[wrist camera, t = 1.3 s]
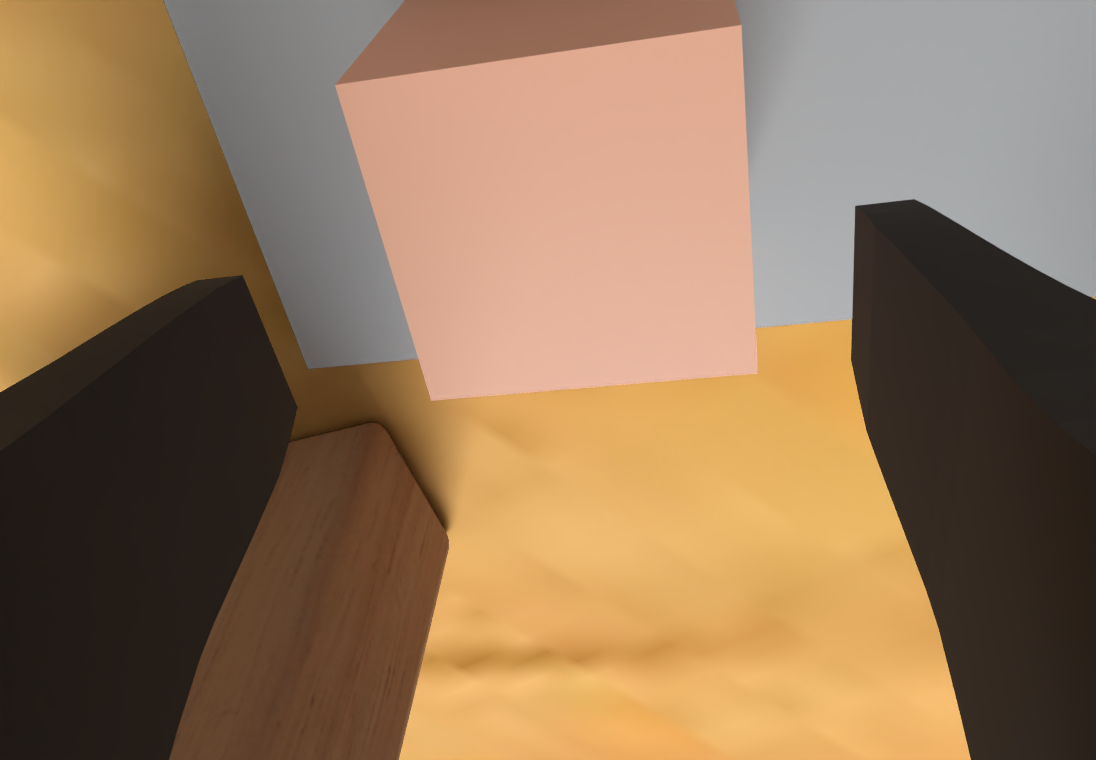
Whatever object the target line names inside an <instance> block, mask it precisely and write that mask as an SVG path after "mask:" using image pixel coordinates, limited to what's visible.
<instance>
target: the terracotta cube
mask: <svg viewBox="0 0 1096 760" xmlns="http://www.w3.org/2000/svg"><path fill="white" fill-rule="evenodd" d="M335 87H336V90H337V93H338V97H339V100H340V103H341V107H342V110H343V113H344V116H345V120H346V123H347V126H348V130H349V133H350V136H351V139H352V143H353V146H354V149H355V152H356V156H357V159H358V162H359V166H360V169H361V172H362V175H363V179H364V182H365V185H366V189H367V192H368V195H369V198H370V202H371V205H372V208H373V211H374V215H375V218H376V221H377V225H378V228H379V231H380V234H381V238H382V241H383V244H384V248H385V251H386V254H387V257H388V261H389V264H390V267H391V270H392V274H393V277H394V280H395V284H396V287H397V290H398V293H399V297H400V300H401V303H402V307H403V310H404V313H405V316H406V320H407V323H408V326H409V329H410V333H411V336H412V339H413V343H414V346H415V349H416V352H417V356H418V359H419V362H420V366H421V369H422V372H423V375H424V379H425V382H426V385H427V388H428V392H429V395H430V398H431V401H432V400H444V399H456V398H468V397H480V396H492V395H504V394H516V393H528V392H540V391H552V390H564V389H576V388H588V387H600V386H612V385H624V384H636V383H648V382H660V381H672V380H684V379H696V378H708V377H719V376H731V375H743V374H755V373H758V368H757V346H756V325H755V304H754V282H753V261H752V240H751V218H750V197H749V176H748V154H747V133H746V112H745V90H744V69H743V48H742V26H741V22H740V18H739V15H738V11H737V8H736V4H735V1H734V0H405V1H404V2H403V3H402V5H401V6H400V7H399V8H398V9H397V11H396V12H395V13H394V14H393V15H392V17H391V18H390V19H389V20H388V21H387V23H386V24H385V25H384V26H383V27H382V29H381V30H380V31H379V32H378V34H377V35H376V36H375V37H374V38H373V40H372V41H371V42H370V43H369V44H368V46H367V47H366V48H365V49H364V50H363V52H362V53H361V54H360V55H359V56H358V58H357V59H356V60H355V61H354V63H353V64H352V65H351V66H350V67H349V69H348V70H347V71H346V72H345V73H344V75H343V76H342V77H341V78H340V79H339V81H338V82H337V83H336V84H335Z"/></svg>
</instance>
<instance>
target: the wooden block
mask: <svg viewBox="0 0 1096 760" xmlns="http://www.w3.org/2000/svg"><path fill="white" fill-rule="evenodd" d="M448 550H449V540H448V536H447V533H446V531H445V530H444V528H443V526H442V525H441V523H440V521H439V519H438V518H437V516H436V514H435V513H434V511H433V509H432V507H431V506H430V504H429V502H428V501H427V499H426V497H425V495H424V494H423V492H422V490H421V489H420V487H419V485H418V484H417V482H416V480H415V478H414V477H413V475H412V473H411V472H410V470H409V468H408V466H407V465H406V463H405V461H404V460H403V458H402V456H401V454H400V453H399V451H398V449H397V448H396V446H395V444H394V443H393V441H392V439H391V437H390V436H389V434H388V432H387V431H386V429H385V428H384V427H383V426H381V425H380V424H379V423H366V424H362V425H357V426H353V427H349V428H345V429H341V430H337V431H333V432H329V433H325V434H321V435H316V436H312V437H308V438H304V439H300V440H296V441H292V442H289V444H288V448H287V451H286V455H285V458H284V462H283V465H282V469H281V472H280V475H279V478H278V480H277V483H276V485H275V487H274V490H273V492H272V495H271V497H270V499H269V501H268V504H267V506H266V508H265V511H264V513H263V515H262V518H261V520H260V522H259V524H258V527H257V529H256V531H255V533H254V536H253V538H252V540H251V542H250V544H249V547H248V549H247V551H246V553H245V556H244V558H243V560H242V562H241V564H240V567H239V569H238V571H237V573H236V576H235V578H234V580H233V582H232V584H231V587H230V589H229V591H228V593H227V596H226V598H225V600H224V602H223V604H222V607H221V609H220V611H219V613H218V616H217V618H216V620H215V622H214V625H213V627H212V630H211V632H210V635H209V637H208V640H207V642H206V645H205V647H204V650H203V653H202V655H201V658H200V661H199V664H198V667H197V670H196V673H195V676H194V680H193V683H192V686H191V689H190V692H189V695H188V698H187V702H186V705H185V708H184V711H183V714H182V717H181V721H180V724H179V727H178V730H177V733H176V737H175V741H174V744H173V748H172V751H171V755H170V758H169V760H399V756H400V752H401V748H402V744H403V739H404V735H405V731H406V727H407V723H408V719H409V714H410V710H411V706H412V702H413V698H414V693H415V689H416V685H417V681H418V677H419V672H420V668H421V664H422V660H423V656H424V651H425V647H426V643H427V639H428V634H429V630H430V626H431V622H432V617H433V613H434V609H435V605H436V600H437V596H438V592H439V588H440V584H441V579H442V575H443V571H444V567H445V562H446V558H447V554H448Z"/></svg>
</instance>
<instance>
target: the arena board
mask: <svg viewBox="0 0 1096 760" xmlns="http://www.w3.org/2000/svg"><path fill="white" fill-rule="evenodd" d="M163 1H164V4H165V7H166V9H167V12H168V14H169V17H170V19H171V22H172V24H173V27H174V29H175V32H176V35H177V37H178V40H179V42H180V45H181V47H182V50H183V52H184V55H185V57H186V60H187V63H188V65H189V68H190V70H191V73H192V75H193V78H194V80H195V83H196V85H197V88H198V91H199V93H200V96H201V98H202V101H203V103H204V106H205V108H206V111H207V114H208V116H209V119H210V121H211V124H212V126H213V129H214V131H215V134H216V136H217V139H218V142H219V144H220V147H221V149H222V152H223V154H224V157H225V159H226V162H227V164H228V167H229V170H230V172H231V175H232V177H233V180H234V182H235V185H236V187H237V190H238V192H239V195H240V198H241V200H242V203H243V205H244V208H245V210H246V213H247V215H248V218H249V220H250V223H251V226H252V228H253V231H254V233H255V236H256V238H257V241H258V243H259V246H260V249H261V251H262V254H263V256H264V259H265V261H266V264H267V266H268V269H269V271H270V274H271V277H272V279H273V282H274V284H275V287H276V289H277V292H278V294H279V297H280V299H281V302H282V305H283V307H284V310H285V312H286V315H287V317H288V320H289V322H290V325H291V327H292V330H293V333H294V335H295V338H296V340H297V343H298V345H299V348H300V350H301V353H302V356H303V358H304V361H305V363H306V366H307V368H308V369H315V368H326V367H337V366H347V365H358V364H369V363H380V362H391V361H402V360H413V359H418V356H417V352H416V349H415V346H414V343H413V339H412V336H411V333H410V329H409V326H408V323H407V320H406V316H405V313H404V310H403V307H402V303H401V300H400V297H399V293H398V290H397V287H396V284H395V280H394V277H393V274H392V270H391V267H390V264H389V261H388V257H387V254H386V251H385V248H384V244H383V241H382V238H381V234H380V231H379V228H378V225H377V221H376V218H375V215H374V211H373V208H372V205H371V202H370V198H369V195H368V192H367V189H366V185H365V182H364V179H363V175H362V172H361V169H360V166H359V162H358V159H357V156H356V152H355V149H354V146H353V143H352V139H351V136H350V133H349V130H348V126H347V123H346V120H345V116H344V113H343V110H342V107H341V103H340V100H339V97H338V93H337V90H336V87H335V84H336V83H337V82H338V81H339V79H340V78H341V77H342V76H343V75H344V73H345V72H346V71H347V70H348V69H349V67H350V66H351V65H352V64H353V63H354V61H355V60H356V59H357V58H358V56H359V55H360V54H361V53H362V52H363V50H364V49H365V48H366V47H367V46H368V44H369V43H370V42H371V41H372V40H373V38H374V37H375V36H376V35H377V34H378V32H379V31H380V30H381V29H382V27H383V26H384V25H385V24H386V23H387V21H388V20H389V19H390V18H391V17H392V15H393V14H394V13H395V12H396V11H397V9H398V8H399V7H400V6H401V5H402V3H403V2H404V1H405V0H163ZM734 1H735V4H736V8H737V11H738V15H739V18H740V22H741V26H742V48H743V69H744V90H745V112H746V133H747V154H748V176H749V197H750V218H751V240H752V261H753V282H754V304H755V325H756V328H761V327H772V326H783V325H794V324H804V323H815V322H826V321H837V320H848V319H852V311H853V271H854V232H855V206H858V205H867V204H876V203H885V202H893V201H902V200H911V199H915V200H917V201H919V202H921V203H924V204H925V205H927V206H929V207H931V208H933V209H935V210H936V211H938V212H940V213H941V214H943V215H945V216H946V217H948V218H950V219H952V220H953V221H955V222H956V223H958V224H960V225H961V226H963V227H965V228H966V229H968V230H970V231H971V232H973V233H975V234H976V235H978V236H980V237H981V238H983V239H985V240H986V241H988V242H990V243H991V244H993V245H995V246H997V247H998V248H1000V249H1002V250H1003V251H1005V252H1007V253H1008V254H1010V255H1012V256H1014V257H1015V258H1017V259H1019V260H1021V261H1022V262H1024V263H1026V264H1028V265H1030V266H1031V267H1033V268H1035V269H1037V270H1039V271H1040V272H1042V273H1044V274H1046V275H1048V276H1050V277H1052V278H1054V279H1055V280H1057V281H1059V282H1061V283H1063V284H1065V285H1067V286H1069V287H1071V288H1073V289H1075V290H1077V291H1079V292H1081V293H1083V294H1085V295H1087V296H1089V297H1096V0H734Z"/></svg>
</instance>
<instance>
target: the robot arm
mask: <svg viewBox="0 0 1096 760" xmlns="http://www.w3.org/2000/svg"><path fill="white" fill-rule="evenodd" d="M851 361H852V366H853V371H854V375H855V380H856V385H857V390H858V394H859V399H860V404H861V408H862V412H863V417H864V421H865V426H866V430H867V433H868V436H869V439H870V442H871V444H872V447H873V450H874V453H875V455H876V458H877V461H878V463H879V466H880V469H881V471H882V474H883V477H884V480H885V482H886V485H887V488H888V490H889V493H890V496H891V498H892V501H893V504H894V506H895V509H896V511H897V514H898V517H899V519H900V522H901V525H902V527H903V530H904V533H905V535H906V538H907V540H908V543H909V546H910V548H911V551H912V554H913V556H914V559H915V562H916V564H917V567H918V570H919V572H920V575H921V578H922V580H923V583H924V585H925V588H926V591H927V594H928V597H929V600H930V603H931V606H932V609H933V612H934V615H935V619H936V622H937V625H938V628H939V632H940V635H941V639H942V643H943V647H944V651H945V655H946V659H947V663H948V667H949V671H950V675H951V679H952V683H953V687H954V691H955V695H956V699H957V703H958V707H959V711H960V715H961V719H962V723H963V727H964V732H965V736H966V740H967V744H968V748H969V753H970V757H971V760H1096V300H1095V299H1093V298H1091V297H1089V296H1087V295H1085V294H1083V293H1081V292H1079V291H1077V290H1075V289H1073V288H1071V287H1069V286H1067V285H1065V284H1063V283H1061V282H1059V281H1057V280H1055V279H1054V278H1052V277H1050V276H1048V275H1046V274H1044V273H1042V272H1040V271H1039V270H1037V269H1035V268H1033V267H1031V266H1030V265H1028V264H1026V263H1024V262H1022V261H1021V260H1019V259H1017V258H1015V257H1014V256H1012V255H1010V254H1008V253H1007V252H1005V251H1003V250H1002V249H1000V248H998V247H997V246H995V245H993V244H991V243H990V242H988V241H986V240H985V239H983V238H981V237H980V236H978V235H976V234H975V233H973V232H971V231H970V230H968V229H966V228H965V227H963V226H961V225H960V224H958V223H956V222H955V221H953V220H952V219H950V218H948V217H946V216H945V215H943V214H941V213H940V212H938V211H936V210H935V209H933V208H931V207H929V206H927V205H925V204H924V203H921V202H919V201H917V200H915V199H911V200H902V201H893V202H885V203H876V204H867V205H858V206H855V232H854V271H853V311H852V350H851ZM296 411H297V406H296V403H295V401H294V398H293V396H292V394H291V391H290V389H289V386H288V384H287V381H286V379H285V377H284V374H283V372H282V369H281V367H280V365H279V362H278V360H277V357H276V355H275V353H274V350H273V348H272V345H271V343H270V340H269V338H268V336H267V333H266V331H265V328H264V326H263V324H262V321H261V319H260V316H259V314H258V312H257V309H256V307H255V304H254V302H253V299H252V297H251V295H250V292H249V290H248V287H247V285H246V283H245V280H244V278H243V275H241V276H232V277H224V278H215V279H206V280H197V281H195V282H192V283H190V284H187V285H185V286H182V287H180V288H178V289H176V290H174V291H172V292H170V293H168V294H166V295H164V296H162V297H161V298H159V299H157V300H155V301H153V302H151V303H150V304H148V305H146V306H144V307H143V308H141V309H139V310H138V311H136V312H134V313H132V314H131V315H129V316H127V317H126V318H124V319H122V320H121V321H119V322H117V323H116V324H114V325H113V326H111V327H109V328H108V329H106V330H104V331H103V332H101V333H99V334H98V335H96V336H95V337H93V338H91V339H90V340H88V341H86V342H85V343H83V344H81V345H80V346H78V347H77V348H75V349H73V350H72V351H70V352H68V353H67V354H65V355H63V356H62V357H60V358H59V359H57V360H55V361H54V362H52V363H50V364H49V365H47V366H45V367H44V368H42V369H40V370H38V371H37V372H35V373H33V374H31V375H30V376H28V377H26V378H24V379H23V380H21V381H19V382H18V383H16V384H14V385H12V386H11V387H9V388H7V389H5V390H4V391H2V392H0V760H169V758H170V755H171V751H172V748H173V744H174V741H175V737H176V733H177V730H178V727H179V724H180V721H181V717H182V714H183V711H184V708H185V705H186V702H187V698H188V695H189V692H190V689H191V686H192V683H193V680H194V676H195V673H196V670H197V667H198V664H199V661H200V658H201V655H202V653H203V650H204V647H205V645H206V642H207V640H208V637H209V635H210V632H211V630H212V627H213V625H214V622H215V620H216V618H217V616H218V613H219V611H220V609H221V607H222V604H223V602H224V600H225V598H226V596H227V593H228V591H229V589H230V587H231V584H232V582H233V580H234V578H235V576H236V573H237V571H238V569H239V567H240V564H241V562H242V560H243V558H244V556H245V553H246V551H247V549H248V547H249V544H250V542H251V540H252V538H253V536H254V533H255V531H256V529H257V527H258V524H259V522H260V520H261V518H262V515H263V513H264V511H265V508H266V506H267V504H268V501H269V499H270V497H271V495H272V492H273V490H274V487H275V485H276V483H277V480H278V478H279V475H280V472H281V469H282V465H283V462H284V458H285V455H286V451H287V448H288V444H289V440H290V436H291V432H292V428H293V424H294V419H295V415H296Z"/></svg>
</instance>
